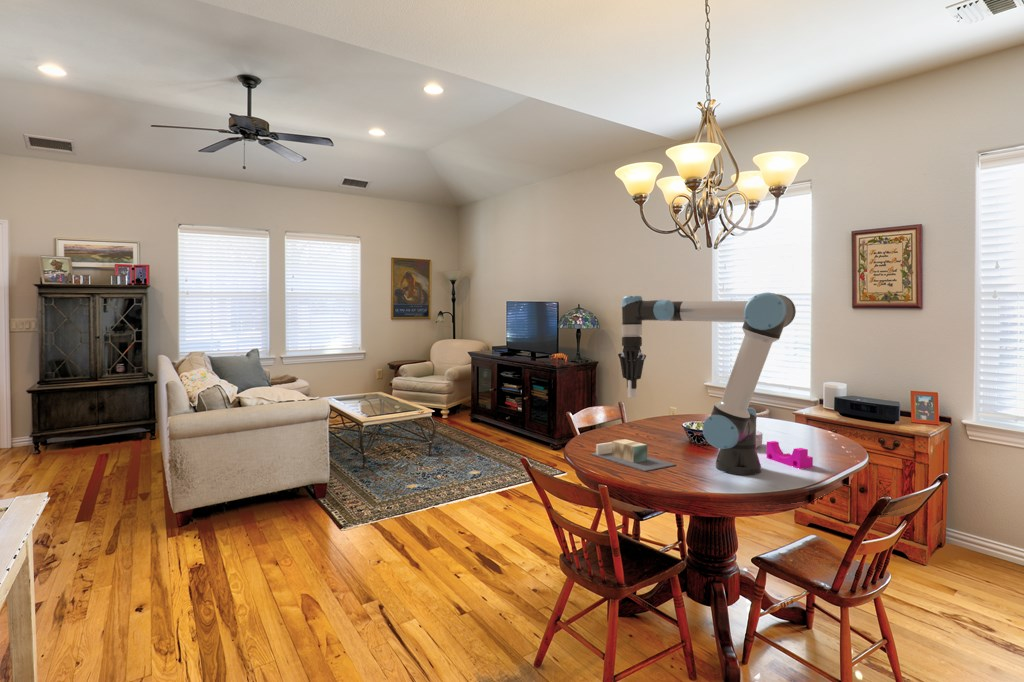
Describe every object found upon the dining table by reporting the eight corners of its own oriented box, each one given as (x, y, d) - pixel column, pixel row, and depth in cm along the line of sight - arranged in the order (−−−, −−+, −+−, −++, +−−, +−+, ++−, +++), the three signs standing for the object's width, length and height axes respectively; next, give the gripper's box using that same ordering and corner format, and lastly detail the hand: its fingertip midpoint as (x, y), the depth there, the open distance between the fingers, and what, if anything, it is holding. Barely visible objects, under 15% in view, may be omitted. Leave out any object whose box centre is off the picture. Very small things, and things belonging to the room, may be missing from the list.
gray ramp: (675, 465, 196) (675, 464, 196) (644, 471, 188) (644, 470, 188) (619, 449, 222) (619, 448, 222) (590, 454, 214) (590, 453, 214)
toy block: (812, 469, 192) (812, 448, 192) (799, 471, 190) (799, 450, 189) (779, 459, 206) (779, 440, 206) (766, 461, 204) (766, 441, 204)
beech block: (647, 444, 203) (625, 439, 213) (633, 446, 199) (612, 440, 209) (647, 460, 203) (625, 453, 213) (633, 462, 199) (612, 456, 209)
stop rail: (624, 450, 219) (624, 440, 218) (598, 454, 211) (598, 444, 211) (622, 450, 220) (622, 440, 219) (596, 454, 212) (596, 444, 212)
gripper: (651, 336, 200) (651, 398, 201) (627, 335, 211) (626, 394, 212) (636, 336, 196) (636, 399, 197) (612, 335, 207) (612, 395, 208)
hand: (631, 396), depth 204 cm, fingers closed
